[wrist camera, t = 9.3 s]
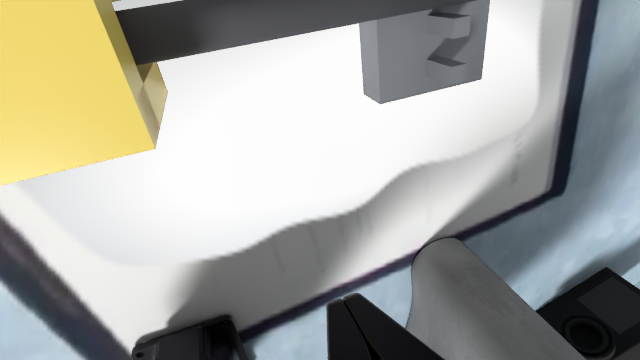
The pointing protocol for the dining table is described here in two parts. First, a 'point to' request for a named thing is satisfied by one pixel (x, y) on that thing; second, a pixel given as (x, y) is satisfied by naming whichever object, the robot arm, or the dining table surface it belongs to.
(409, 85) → the grey pronged block
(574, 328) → the digital camera
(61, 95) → the sleeve
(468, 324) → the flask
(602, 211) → the dining table surface
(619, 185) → the dining table surface
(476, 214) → the dining table surface
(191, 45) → the dark grey rod
